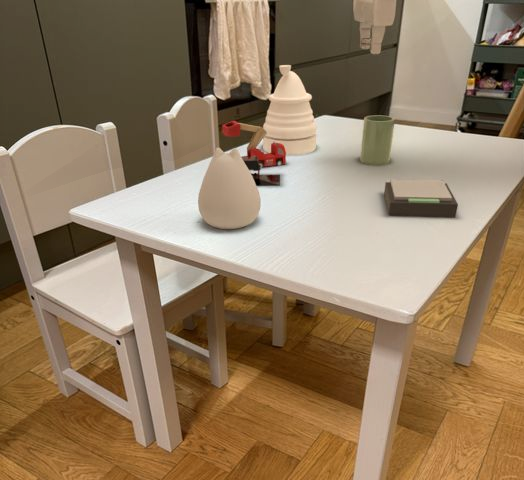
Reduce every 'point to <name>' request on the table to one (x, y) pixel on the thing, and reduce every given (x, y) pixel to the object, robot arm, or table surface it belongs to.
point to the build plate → (259, 179)
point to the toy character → (228, 192)
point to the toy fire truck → (265, 160)
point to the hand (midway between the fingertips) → (369, 51)
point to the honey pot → (290, 116)
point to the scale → (419, 198)
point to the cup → (377, 139)
